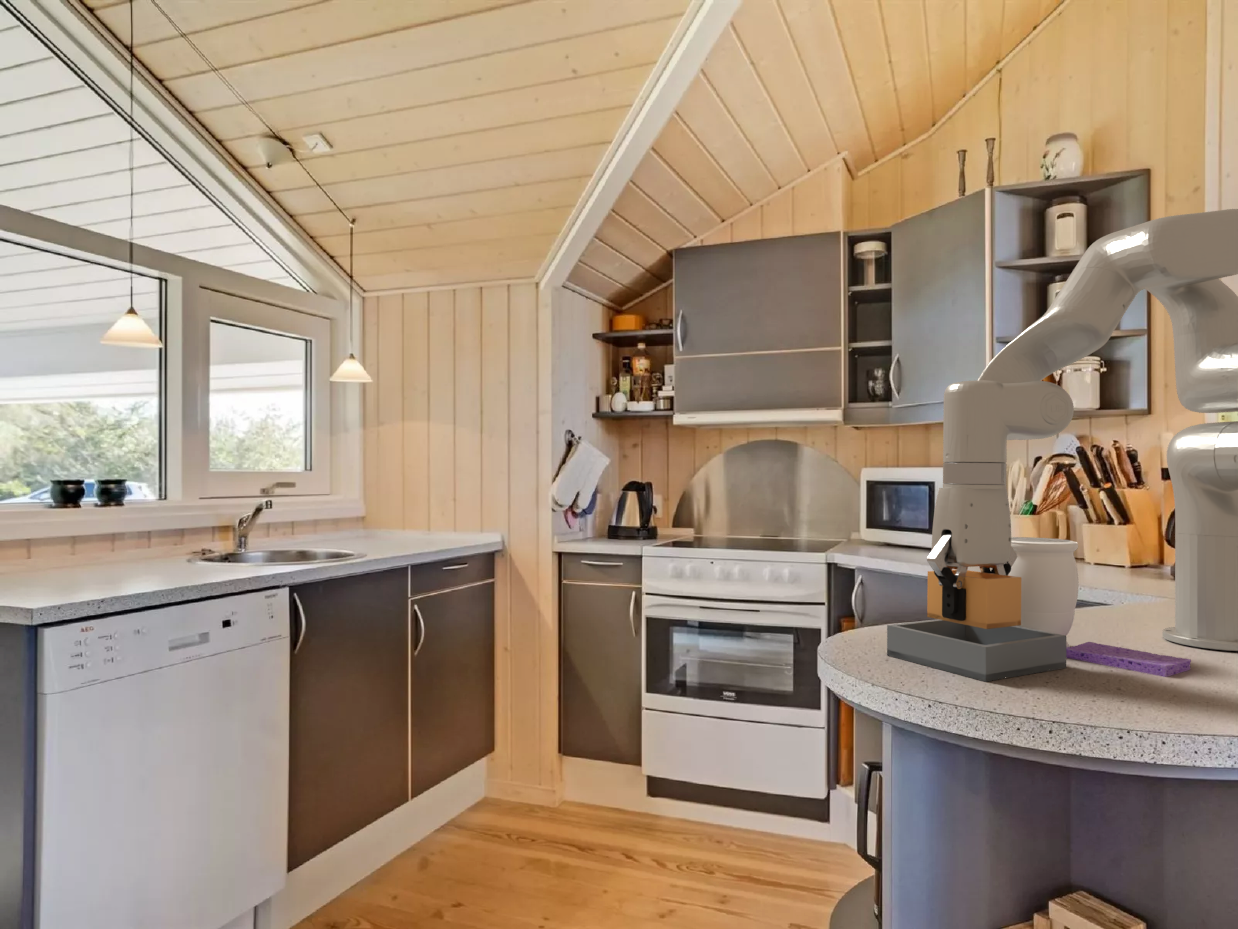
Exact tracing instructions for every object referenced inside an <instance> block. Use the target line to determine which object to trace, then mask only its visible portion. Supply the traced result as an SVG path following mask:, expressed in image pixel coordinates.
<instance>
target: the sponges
mask: <svg viewBox="0 0 1238 929" xmlns="http://www.w3.org/2000/svg"><path fill="white" fill-rule="evenodd" d="M1066 659H1072V660H1077V661H1082V662H1087V663H1093V664H1098V665H1101V666H1102V665H1103V666H1109V667H1112V668H1117V667H1118V668H1117V669H1123V670H1129V671H1133V672H1138V673H1143V674H1147V675H1154V676H1159V677H1163V678H1167V677H1170V676H1173V675H1177V674H1180V673H1183V672H1187V671H1189V670H1191V662H1192V659H1189V658H1183V657H1175V656H1171V655H1166V654H1164V655H1163V654H1158V653H1151V652H1147V651H1143V650H1138V649H1136V650H1135V649H1131V648H1126V647H1121V646H1120V647H1119V646H1114V645H1107V644H1102V643H1097V642H1093V641H1087V642H1083V643H1081V644H1078V645H1073V646H1069V647H1066Z"/></svg>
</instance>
